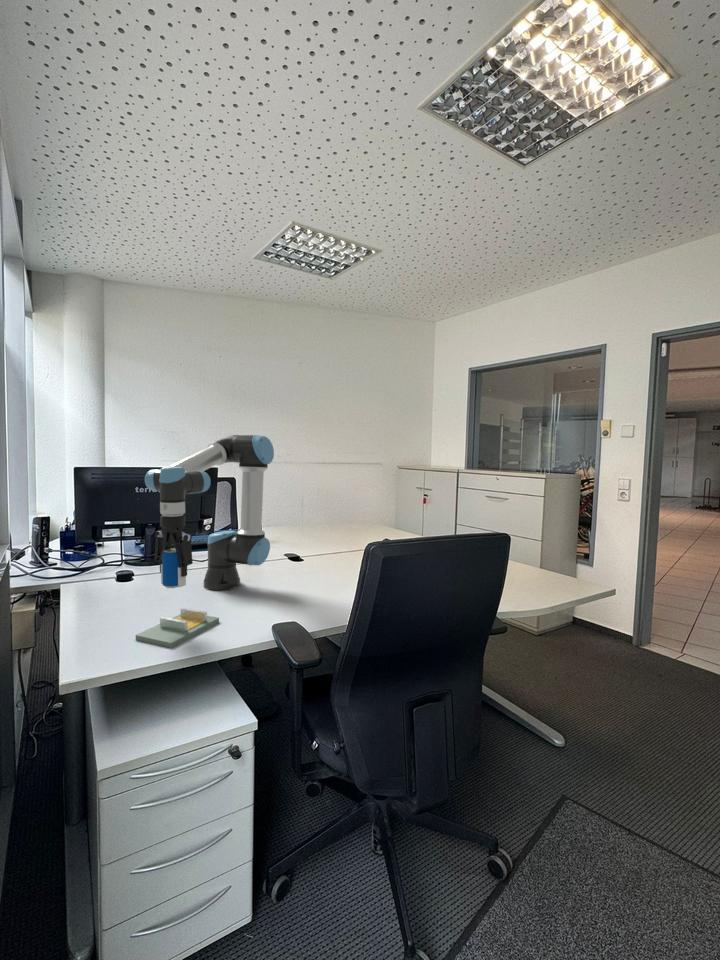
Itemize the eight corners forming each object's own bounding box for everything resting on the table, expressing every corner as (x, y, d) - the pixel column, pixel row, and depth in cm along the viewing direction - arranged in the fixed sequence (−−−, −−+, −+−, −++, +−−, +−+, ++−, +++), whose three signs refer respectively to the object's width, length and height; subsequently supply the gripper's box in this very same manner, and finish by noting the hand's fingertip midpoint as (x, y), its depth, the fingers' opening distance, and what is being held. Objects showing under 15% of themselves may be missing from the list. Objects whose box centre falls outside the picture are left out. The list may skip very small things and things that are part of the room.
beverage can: (166, 582, 152) (166, 547, 151) (186, 582, 153) (186, 547, 152) (159, 588, 146) (158, 551, 145) (180, 589, 146) (179, 552, 145)
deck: (135, 639, 141) (135, 635, 141) (186, 615, 161) (186, 611, 161) (171, 647, 136) (171, 643, 136) (218, 622, 157) (218, 617, 156)
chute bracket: (159, 626, 147) (159, 617, 147) (183, 616, 157) (183, 607, 157) (184, 632, 144) (184, 622, 144) (206, 620, 154) (206, 612, 153)
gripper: (141, 513, 148) (142, 583, 150) (187, 518, 140) (188, 592, 142) (159, 510, 155) (160, 577, 157) (204, 515, 147) (205, 585, 149)
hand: (173, 584), depth 149 cm, fingers closed on beverage can, 6 cm apart
